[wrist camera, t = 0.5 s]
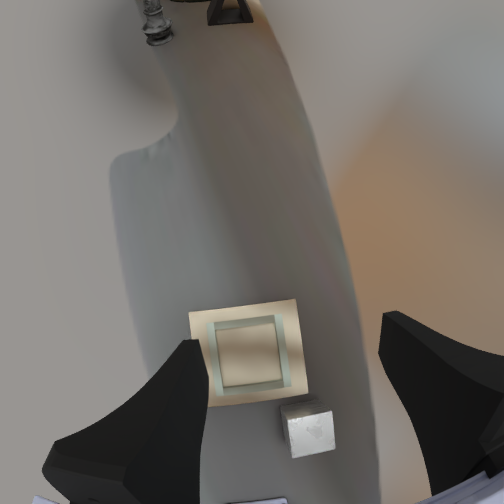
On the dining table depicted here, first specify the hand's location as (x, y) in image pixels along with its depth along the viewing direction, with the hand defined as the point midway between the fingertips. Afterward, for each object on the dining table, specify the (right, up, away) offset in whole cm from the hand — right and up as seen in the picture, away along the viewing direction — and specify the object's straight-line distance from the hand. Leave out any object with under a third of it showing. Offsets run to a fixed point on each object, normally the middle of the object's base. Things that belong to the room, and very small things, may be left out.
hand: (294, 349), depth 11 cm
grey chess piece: (-19, +45, +35) cm, 60 cm away
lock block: (+4, -16, +21) cm, 26 cm away
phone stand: (-6, +51, +37) cm, 64 cm away
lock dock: (-2, -8, +22) cm, 24 cm away
